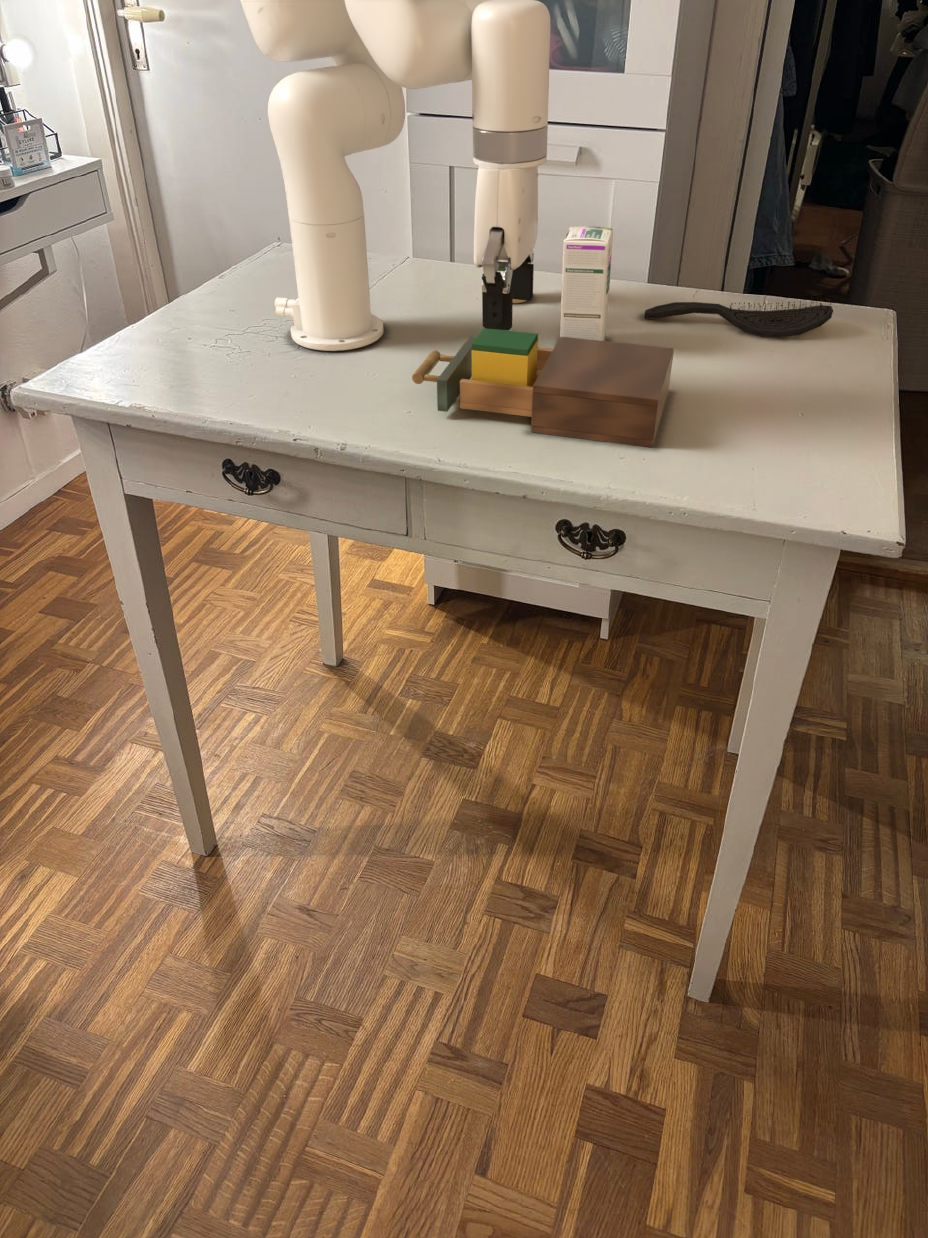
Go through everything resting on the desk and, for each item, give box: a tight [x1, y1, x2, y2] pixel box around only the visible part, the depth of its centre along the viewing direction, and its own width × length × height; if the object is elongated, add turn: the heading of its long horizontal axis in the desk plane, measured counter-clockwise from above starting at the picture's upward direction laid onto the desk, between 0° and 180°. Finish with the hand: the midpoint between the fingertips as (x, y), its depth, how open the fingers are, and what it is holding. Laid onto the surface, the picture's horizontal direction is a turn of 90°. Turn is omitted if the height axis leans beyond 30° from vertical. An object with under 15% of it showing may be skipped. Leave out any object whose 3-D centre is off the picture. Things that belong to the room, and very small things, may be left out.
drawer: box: [411, 335, 554, 418], centre depth 111 cm, size 17×13×4 cm
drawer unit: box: [530, 336, 675, 448], centre depth 108 cm, size 14×15×6 cm
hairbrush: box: [643, 297, 834, 339], centre depth 130 cm, size 8×4×25 cm
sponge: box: [471, 327, 539, 387], centre depth 109 cm, size 7×5×6 cm
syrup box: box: [559, 225, 614, 341], centre depth 121 cm, size 6×6×14 cm
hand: (508, 312), depth 106 cm, fingers open, 9 cm apart
